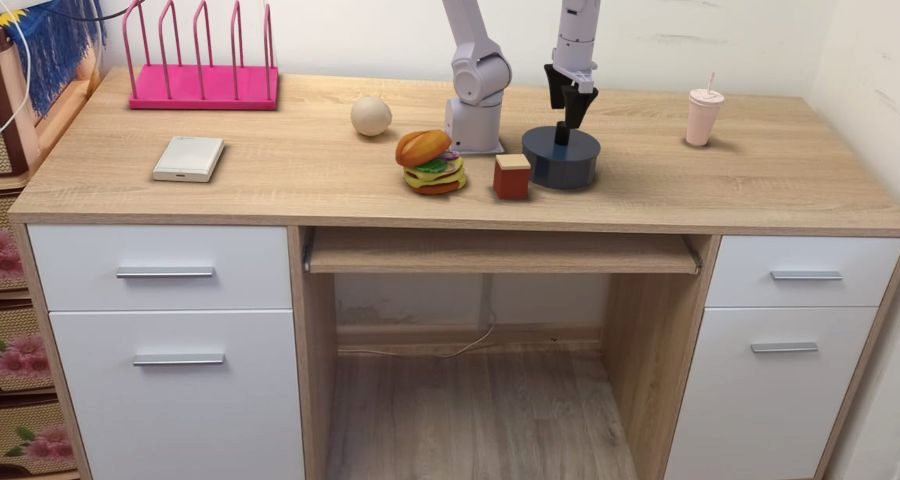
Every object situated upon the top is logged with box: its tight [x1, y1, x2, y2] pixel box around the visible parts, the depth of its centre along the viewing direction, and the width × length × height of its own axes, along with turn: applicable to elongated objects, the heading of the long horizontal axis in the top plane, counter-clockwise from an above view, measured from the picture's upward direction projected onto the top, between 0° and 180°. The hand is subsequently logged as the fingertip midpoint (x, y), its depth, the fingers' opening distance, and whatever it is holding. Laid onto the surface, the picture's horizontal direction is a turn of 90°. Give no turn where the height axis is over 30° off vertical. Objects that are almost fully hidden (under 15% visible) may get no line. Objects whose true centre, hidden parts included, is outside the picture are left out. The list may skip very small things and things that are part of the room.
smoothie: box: [685, 70, 725, 146], centre depth 153 cm, size 6×6×14 cm
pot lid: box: [520, 120, 602, 163], centre depth 137 cm, size 13×13×4 cm
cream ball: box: [350, 95, 393, 137], centre depth 146 cm, size 7×7×7 cm
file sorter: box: [121, 0, 279, 111], centre depth 152 cm, size 17×25×16 cm
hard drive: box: [152, 135, 225, 183], centre depth 132 cm, size 2×8×12 cm
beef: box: [492, 153, 531, 200], centre depth 132 cm, size 5×4×6 cm
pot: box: [521, 146, 598, 191], centre depth 139 cm, size 12×12×6 cm
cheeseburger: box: [394, 128, 467, 195], centre depth 132 cm, size 10×11×10 cm
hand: (564, 118), depth 135 cm, fingers open, 7 cm apart
